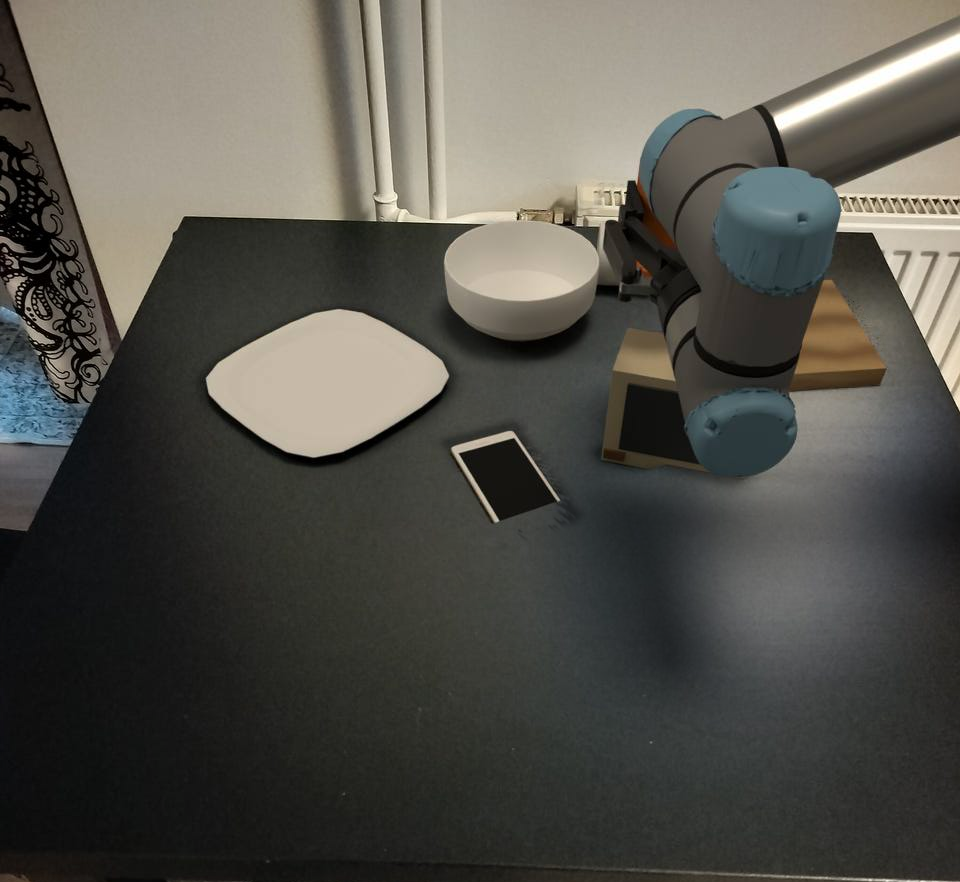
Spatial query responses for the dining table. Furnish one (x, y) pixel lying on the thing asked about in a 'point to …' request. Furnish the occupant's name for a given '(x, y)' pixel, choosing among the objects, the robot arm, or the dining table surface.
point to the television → (646, 408)
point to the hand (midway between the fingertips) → (670, 193)
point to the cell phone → (504, 475)
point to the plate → (326, 382)
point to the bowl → (521, 278)
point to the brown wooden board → (836, 348)
